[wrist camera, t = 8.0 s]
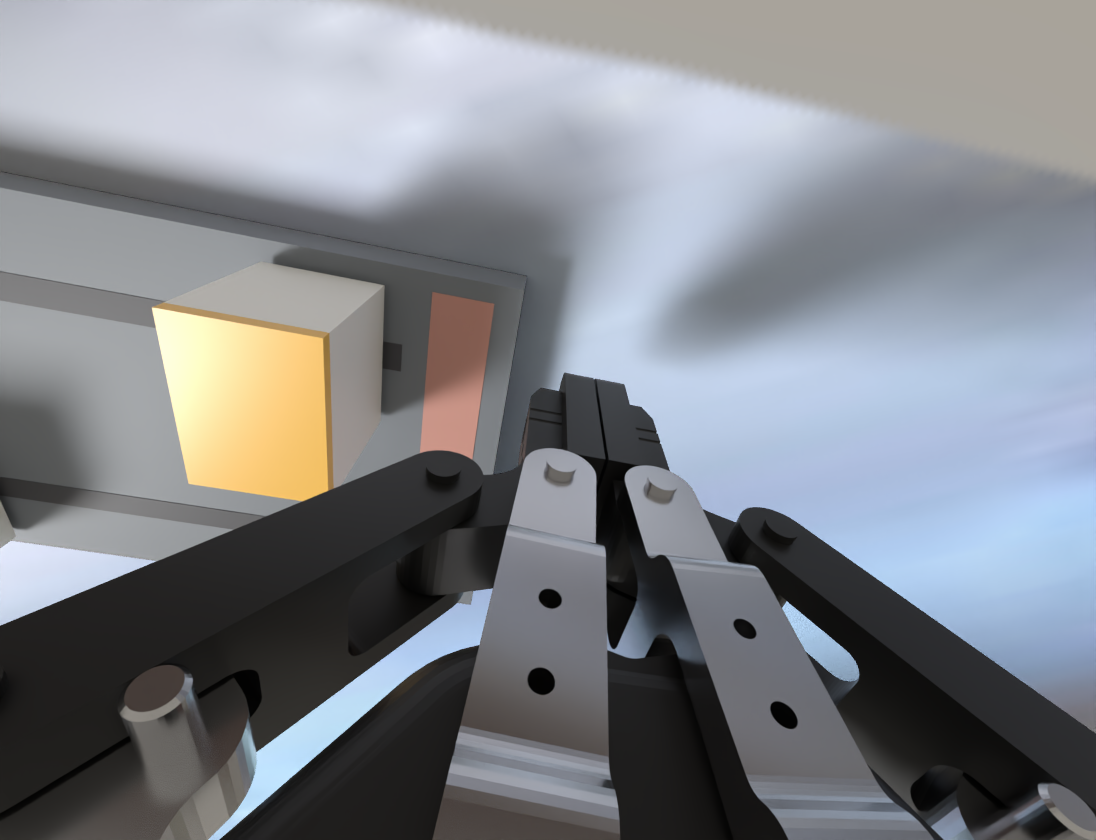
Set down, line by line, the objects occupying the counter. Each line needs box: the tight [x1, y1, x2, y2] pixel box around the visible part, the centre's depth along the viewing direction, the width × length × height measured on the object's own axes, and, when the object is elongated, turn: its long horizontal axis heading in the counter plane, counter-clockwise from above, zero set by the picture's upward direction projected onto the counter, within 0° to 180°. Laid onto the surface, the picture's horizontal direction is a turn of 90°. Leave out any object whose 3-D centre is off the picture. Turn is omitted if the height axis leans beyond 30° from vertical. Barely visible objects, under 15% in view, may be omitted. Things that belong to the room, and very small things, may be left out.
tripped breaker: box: [152, 262, 385, 501], centre depth 12 cm, size 3×4×4 cm
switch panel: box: [0, 172, 527, 605], centre depth 15 cm, size 22×12×2 cm, turn 79°
